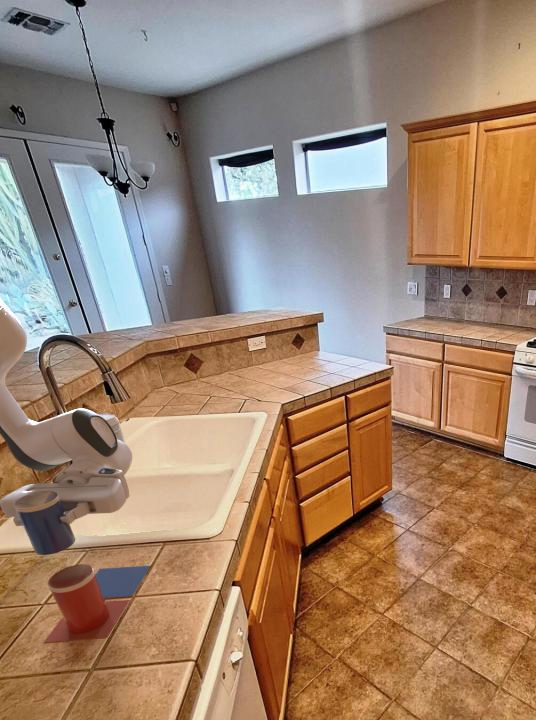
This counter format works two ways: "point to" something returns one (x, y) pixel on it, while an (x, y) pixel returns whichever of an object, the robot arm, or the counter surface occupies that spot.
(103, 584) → the slate-blue mat
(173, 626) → the counter surface
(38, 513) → the blue tumbler
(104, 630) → the terracotta mat
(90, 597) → the red tumbler
